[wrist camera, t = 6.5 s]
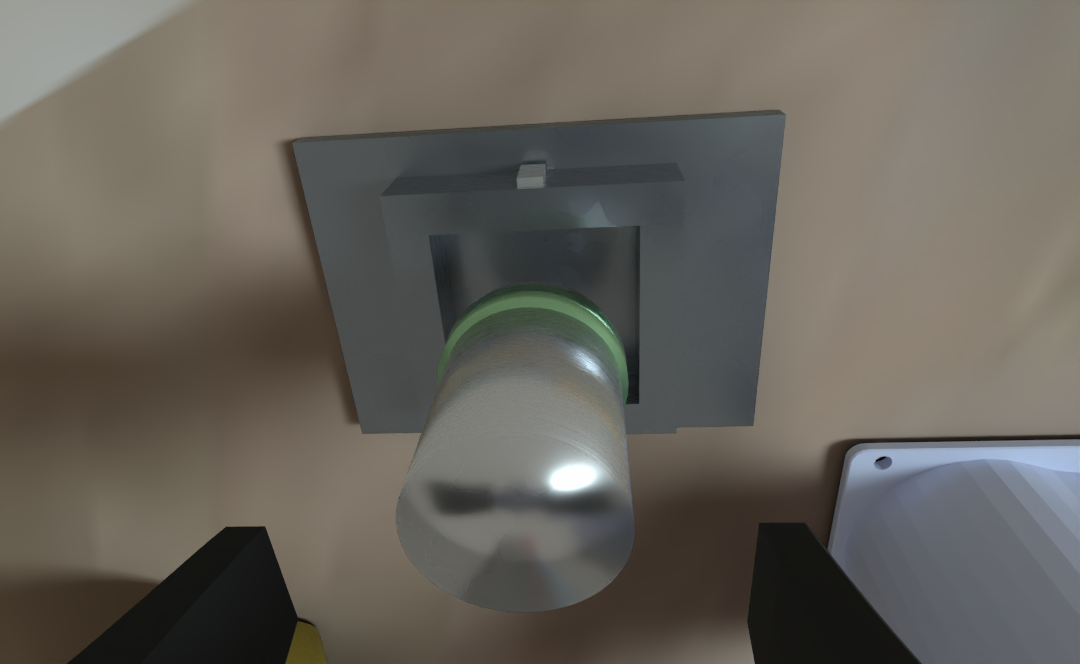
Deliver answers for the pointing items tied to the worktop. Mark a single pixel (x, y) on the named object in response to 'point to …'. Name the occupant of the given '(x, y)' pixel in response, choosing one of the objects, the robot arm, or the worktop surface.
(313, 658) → the flower pot
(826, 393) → the worktop surface
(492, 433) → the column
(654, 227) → the stand base
